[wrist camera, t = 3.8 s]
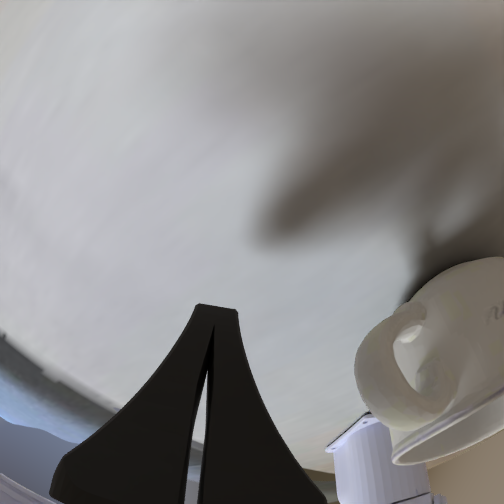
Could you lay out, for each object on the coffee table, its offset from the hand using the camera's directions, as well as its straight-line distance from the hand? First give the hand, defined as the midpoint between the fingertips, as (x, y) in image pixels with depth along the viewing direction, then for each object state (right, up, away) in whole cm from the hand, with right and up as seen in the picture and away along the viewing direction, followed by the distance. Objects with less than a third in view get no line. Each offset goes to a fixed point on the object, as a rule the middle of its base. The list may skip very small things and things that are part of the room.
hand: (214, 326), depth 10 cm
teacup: (+11, 0, +4) cm, 12 cm away
